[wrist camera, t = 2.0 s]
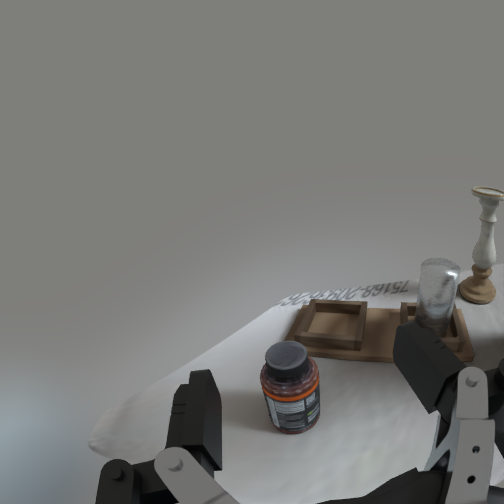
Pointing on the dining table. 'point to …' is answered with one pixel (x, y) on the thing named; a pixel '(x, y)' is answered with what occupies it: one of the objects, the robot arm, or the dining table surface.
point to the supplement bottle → (291, 387)
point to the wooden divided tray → (365, 330)
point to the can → (436, 295)
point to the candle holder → (483, 249)
